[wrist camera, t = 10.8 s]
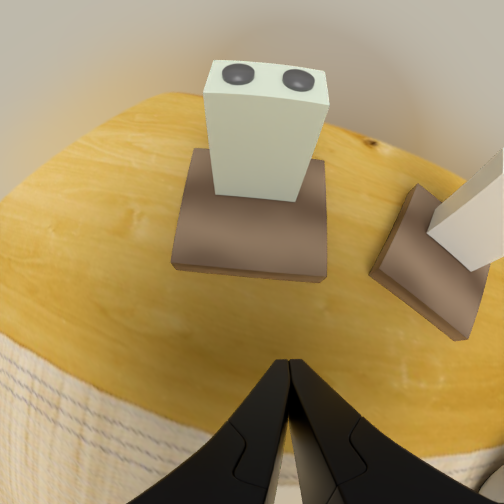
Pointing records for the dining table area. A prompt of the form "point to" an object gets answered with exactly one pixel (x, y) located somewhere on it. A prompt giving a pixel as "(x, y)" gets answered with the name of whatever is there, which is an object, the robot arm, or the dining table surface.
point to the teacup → (494, 486)
